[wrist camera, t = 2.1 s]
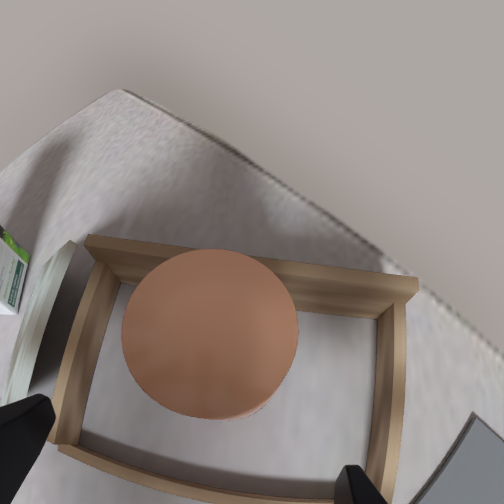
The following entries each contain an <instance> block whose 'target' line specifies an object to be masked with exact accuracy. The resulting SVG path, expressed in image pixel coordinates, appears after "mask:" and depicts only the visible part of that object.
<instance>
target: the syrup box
mask: <svg viewBox="0 0 504 504" xmlns="http://www.w3.org/2000/svg"><path fill="white" fill-rule="evenodd" d="M29 258H30V255H29V254H28V253H27V252H26V251H25V250H24V249H23V248H22V247H21V246H20V245H19V244H18V243H17V242H16V241H15V240H14V239H13V238H12V237H11V236H10V235H9V234H8V233H7V232H6V231H5V230H4V229H3V227H2V226H1V225H0V314H9V315H17V314H18V304H19V299H20V295H21V291H22V286H23V282H24V277H25V273H26V269H27V265H28V262H29Z"/></svg>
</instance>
